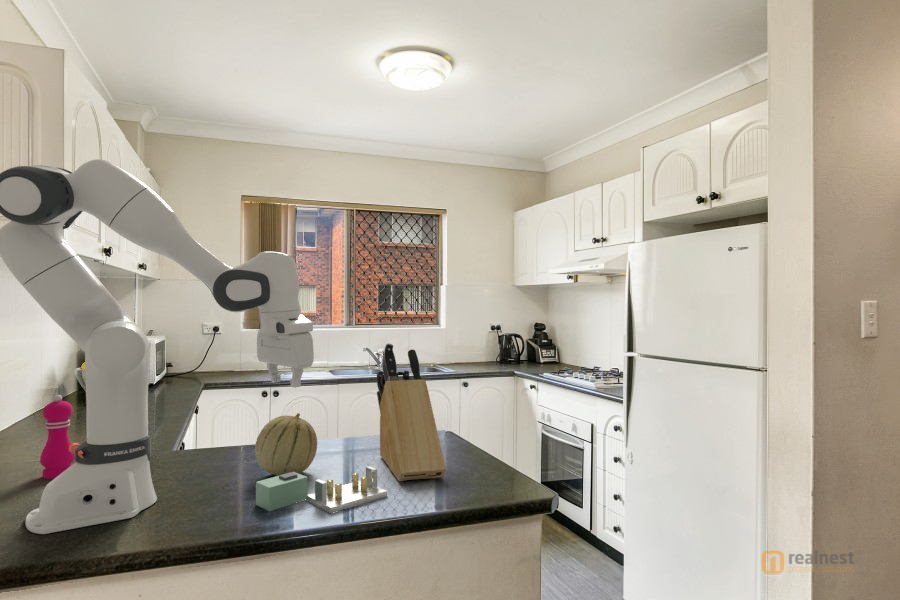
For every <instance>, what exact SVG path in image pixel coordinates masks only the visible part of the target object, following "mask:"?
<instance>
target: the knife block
mask: <svg viewBox="0 0 900 600" xmlns="http://www.w3.org/2000/svg"><path fill="white" fill-rule="evenodd" d="M393 348H394V345H393V344H391V343H386V345H385V347H384V351H383V356H382V362H381V363H382V371H380V370H378V371H377V373H376V386H377V389H378V391H376V397H377V401H378V407H379V409H378V410H379V413H380V414H379V415H380V416H379V455H380V457H381V458H382V459H383V461H384V462H385V463H386V465H387V466H388V468H389V469H390V470H391V472H392V474H393V475H394V477H395V478H396V479H397V480H398V482H405V481H409V480H410V481H411V480H421V479H422V480H423V479H424V480H427V479H438V478H442V477H444V476H445V474H446V472H447V471H446V470H447V468H446V465H445V461H444V457H443V452H442V445H441V441H440V437H439V434H438V429H437V425H436V420H435V415H434V412H433V407H432V402H431V397H430V394H429V389H428V385H427V382H426V380H425V379H423V378H421V369H420V361H419V357H418V355H417V352H416V350H415V349H409V350H408V352H407V356H408V362H409V367H410V370H411V373H412V376H413V379H411V377H410V371H409V370H404V371H398V372H397V362H396V361H397V360H396V357H395V353H394V350H393ZM399 376H402V378H400V377H399Z"/></svg>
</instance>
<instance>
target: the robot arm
mask: <svg viewBox="0 0 900 600" xmlns="http://www.w3.org/2000/svg"><path fill="white" fill-rule="evenodd" d="M83 212H84V213H88V214H90V215H92V216H93V217H95V218H96V219H98V220H99V221H100V222H101V223H103V224H104V225H105V226H107V227H108V228H109V229H111V230H112V231H114V232H115V233H117V234H118V235H119V236H120V237H122V238H124V239H125V240H128V241H129V242H131V243H133V244H135V245H137V246H138V247H141V248H143V249H144V250H145V249H146V250H148V251H151V252H154V253H155V254H159V255H161V256H163V257H167V258H168V259H170V260H172V261H173V262H175V263H177V264H178V265H180V266H181V267H182V268H183V269H185V270H186V271H188V272H189V273H190V274H191V275H193V276H195V277H196V278H197V279H198V280H199V281H201V282H202V283H203V284H204V285H205V286H206V287H207V288H208V289H209V291H210V292H211V294H212V297H213V298H214V300H215V302H216V303H217V304H218V306H219V307H220V308H222V309H224V310H226V311H228V312H230V313H242V312H247V311H249V310H250V309H254V308H258V309H259V320H260V327H259V331H258V333H257V336H256V357H257V360H258V361H259V362H261V363H266V369H267V371H268V373H269V376H270V382H272V383H280V382H281V380H282V379H281V373H279V369H278V366H282V367H285V368H286V367H287V368H290V371H291V372H292V375H291V376H292V377H291V378H290V379H289V380H290V381H289V383H290V387H292V388H295V389H296V388H299V387H301V386H302V380H301V379H302V376H303V373H304V369H306V368H311V367H312V365H313V363H314V355H315V354H314V339H313V336H312V333H311V332H313V331H314V325H313V324H314V323H313V322H312V321H311V320H310V319H308V318H307V317H305V315H303V314H302V309H301V308H302V307H301V305H300V302H299V295H300V294H299V293H300V283H299V282H300V281H299V274H298V268H297V263H296V261H295V259H294V258H293V257H292V256H291V255H290V254H287V253H283V252H277V251H267V250H266V251H262V252H261V251H260V252H259V253H258V254H257V255H256V256H253V258H251V259H249V260H247V261H245V262H244V263H242V264H238V265H237V266H234V267H233V266H231V265H228V264H226V263H225V262H223V261H222V260H220V258H218V257H216V256H215V255H214V254H213V253H212V252H210V251H209V250H208V249H207V248H206V247H204V246H203V245H201V244H200V243H199V242H198V241H196V239H195V238H194V237H193V236H192V235H191V234H190V233H189V231H188V230H187V229H186V227H185V226H184V224H183V223H182V221H181V219H180V218H179V216H178V215H177V214H176V212H175V211H174V210H173V209H172V207H171V206H170V205H169V204H168V203H167V202H166V201H165V200H164V199H163V198H162V197H161V196H160V195H159V194H158V193H156V192H155V191H154V190H153V189H152V188H150V187H149V186H148V185H146V184H145V183H144V182H143V181H141V180H139V179H138V178H137V177H135V176H134V175H132V174H131V173H130V172H128V171H126V170H124V169H123V168H121V167H120V166H118V165H116V164H114V163H112V162H110V161H109V160H105V159H100V158H99V159H92V160H89V161H86V162H84V163H83V164H82V165H80V166H79V167H78V168H77V169H76V170H74V171H73V172H72V171H69V170H68V169H65V168H61V167H54V166H47V165H41V164H39V165H32V166H29V165H27V166H26V165H20V166H18V165H17V166H14V167H11V168H10V167H9V168H8V169H6V170H3V171H2V172H0V214H1V215H2V216H3V217H4V218H6V219H8V220H10V221H9V222H7V223H5V224H4V225H2V226H1V228H0V257H1V260H2V261H3V263H4V264H5V265H6V267H7V268H8V270H9V271H10V272H11V274H12V275H13V277H14V278H15V279H16V280H17V281H18V283H19V284H20V285H21V286H22V288H24V289H25V290H26V291H27V292H28V294H29V295H30V296H31V297H32V298H33V299H34V301H35V302H36V303H37V304H38V305H39V306H40V308H42V309H43V311H44V312H45V313H46V314H47V315H48V317H50V318H51V319H52V321H54V323H56V324H57V325H58V326H59V327H60V328H61V329H62V330H63V331H64V332H65V333H66V334H67V335H68V336H69V337H70V338H71V339H72V340H73V341H74V342H75V344H76V345H78V346H79V347H80V348H81V350H82V351H83V352H84V368H85V369H84V370H85V371H84V372H85V373H84V374H85V377H84V378H85V404H86V406H85V407H86V411H85V412H86V415H85V416H86V418H85V419H86V420H85V422H86V441H84V442H82V443H81V444H79V443H78V442H73V443H71V445H72V446H69V447H70V448H69V451H70V452H71V453H72V454H74V455H75V460H74V463H72V464H71V466H70V467H69V468H67V469H66V470H65V471H64V472H62V473H61V474H60V475H59V476H57V477H56V478H55V479H51V481H49V482H47V484H46V486H45V488H44V489H43V491H42V493H41V496H40V501H39V506H38V507H37V508H35V509H33V510H31V511H30V512H28V514H27V515H26V516H25V527H26V529H27V530H28V531H29V532H31V533H33V534H39V535H46V534H51V533H57V532H62V531H68V530H73V529H79V528H84V527H89V526H93V525H100V524H105V523H111V522H116V521H121V520H126V519H130V518H131V519H132V518H133V517H134V518H135V516H137V515H138V514H139V513H140V512H141V511H143V510H145V509H147V508H149V507H151V506H152V505H154V503H156V502H157V500H158V497H157V494H156V491H155V488H154V484H153V480H152V474H151V468H150V467H151V465H150V461H151V456H152V441H151V440H152V439H151V435H150V434H149V376H150V375H149V374H150V373H149V371H150V366H149V365H150V343H149V339H148V337H147V335H146V334H145V332H144V331H143V330H142V329H141V328H140V327H139V326H138V325H137V324H136V322H135V321H134V320H133V319H132V317H130V315H129V314H128V313H127V311H126V310H125V308H123V307H122V305H120V303H119V302H118V301H117V300H116V299H115V297H114V296H113V294H111V293H110V291H109V290H108V289H107V288H106V287H105V285H104V284H103V283H102V282H101V280H100V279H99V278H98V277H97V276H96V274H95V273H94V272H93V270H91V268H90V267H89V266H88V265H87V264H86V263H85V261H84V259H82V258H81V257H80V255H79V254H78V253H77V252H76V251H75V250H74V249H73V247H72V246H71V245H70V244H69V243H68V241H67V239H66V238H65V237H64V234H63V230H66V229H69V228H70V227H71V226H72V224H73V223H74V222H75V221H76V219H77V218H79V216H80V215H82V213H83Z"/></svg>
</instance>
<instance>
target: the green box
mask: <svg viewBox="0 0 900 600" xmlns="http://www.w3.org/2000/svg"><path fill="white" fill-rule="evenodd" d="M308 483H309V481H308V476H306V475H303V474H301V473H299V474H298V473H296V472H290V473H286V474H282V475H279V476H276V475H275V476H273V477H270V478H265V479H261V480H258V481H255V505H256V506H258V507H259V508H261V509H264V510H266V511H267V512H272V511H275V510H279V509H282V508H285V507H288V506H291V505H294V504H297V503H296V502H298V503H300V502H299V501H301V502H303V501H302V500H304V501H306V500H305V499H306V495H309V494H308V493H309V492H308V491H309V490H308V487H309V486H308ZM293 503H294V504H293ZM290 504H291V505H290ZM287 505H288V506H287ZM284 506H285V507H284ZM281 507H282V508H281ZM278 508H279V509H278Z"/></svg>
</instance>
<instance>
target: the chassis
mask: <svg viewBox="0 0 900 600" xmlns="http://www.w3.org/2000/svg"><path fill="white" fill-rule="evenodd" d="M386 497H388V490H387V489H384V488H381V487H379V486H378V469H377V468H375V467H374V466H370V465H368V466H366V467H365V476H361V477H360V480H359V473H358V472H354V473H352V474H351V482H349V483H346V484H343V483H339V482H338V483H336V484H334V479H327V480H326V481H325V480H322V479H315V480H314V492H312V493H309V494H308V495H306V500H307V501H306V500H305V501H306V502H309V503H310V504H312V505H313V504H314V505H313V506H316V507H317V508H319V507H320V508H319V509H320V510H323V511H325V512H326V511H327V513H328V512H329V514H330V513H332V514H334V513H333V512H335V513H337V512H336V511H338V512H341V511H340V510H342V511H344V510H343V509H345V510H347V508H348V509H351V508H353V507H354V508H355V507H357V506H361V505H364V504H367V503H370V502H373V501H377V500H381V499H383V498H386Z"/></svg>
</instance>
